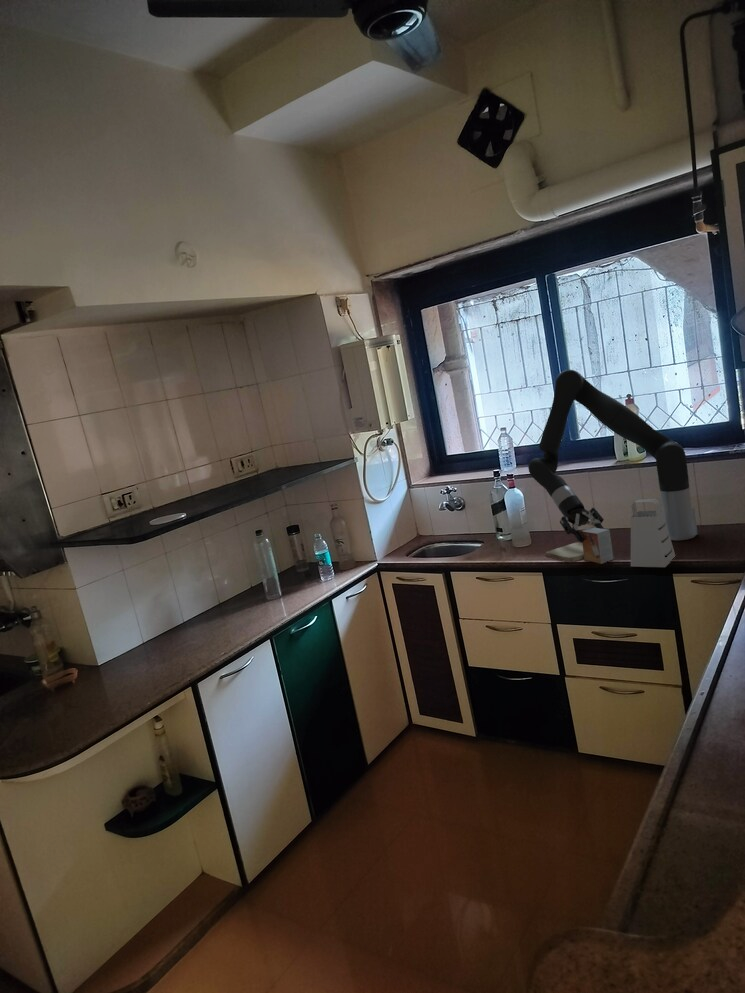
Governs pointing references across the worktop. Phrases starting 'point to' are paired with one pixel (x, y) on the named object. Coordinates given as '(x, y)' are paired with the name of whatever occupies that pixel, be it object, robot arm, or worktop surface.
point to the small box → (597, 545)
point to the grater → (650, 537)
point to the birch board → (568, 552)
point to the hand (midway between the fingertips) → (593, 537)
